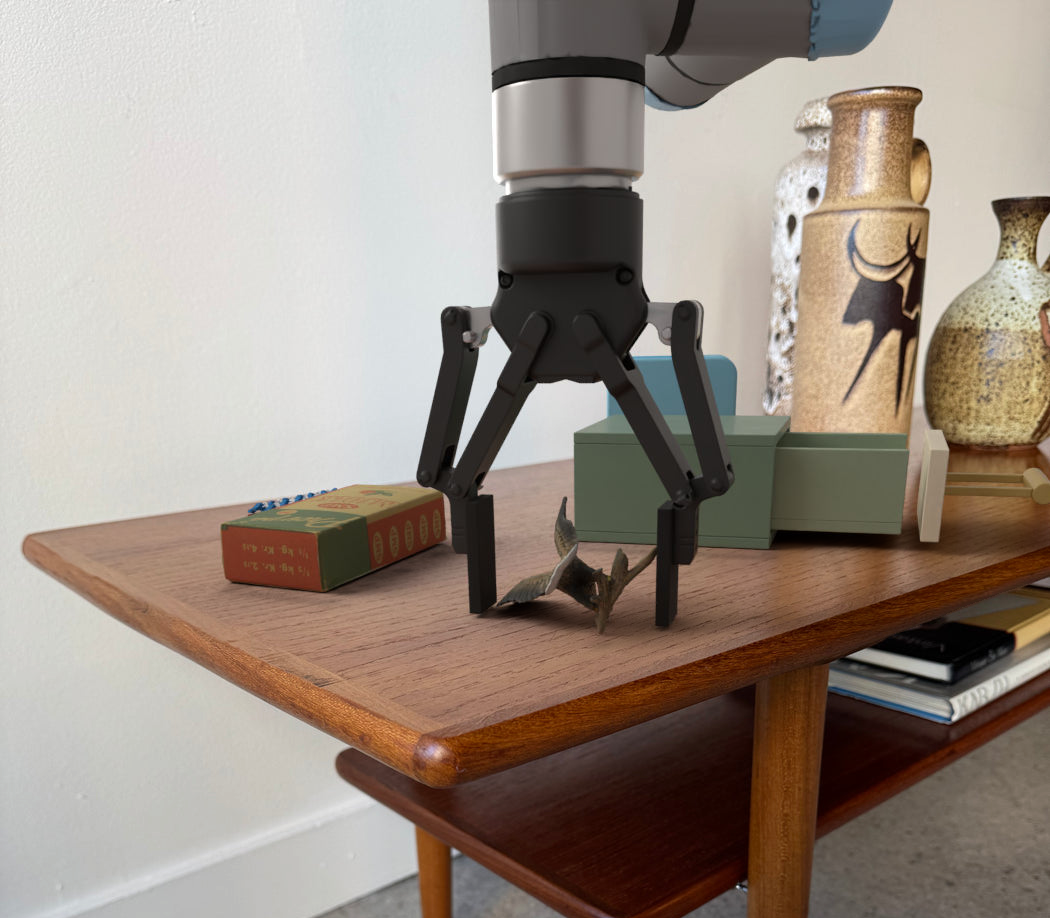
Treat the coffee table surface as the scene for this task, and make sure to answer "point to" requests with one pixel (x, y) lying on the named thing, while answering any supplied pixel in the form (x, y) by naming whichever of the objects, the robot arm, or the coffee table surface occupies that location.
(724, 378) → the blue rounded panel
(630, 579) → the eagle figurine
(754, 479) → the cabinet
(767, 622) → the coffee table surface
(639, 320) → the robot arm
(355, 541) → the carton
